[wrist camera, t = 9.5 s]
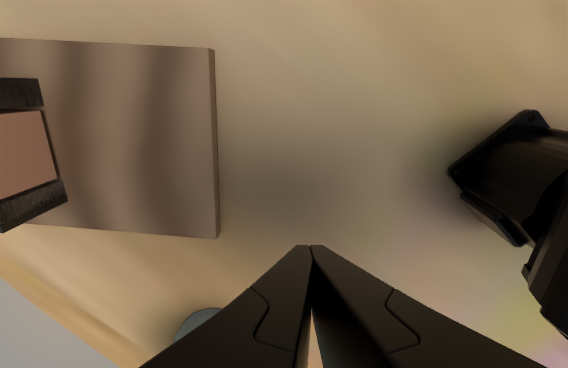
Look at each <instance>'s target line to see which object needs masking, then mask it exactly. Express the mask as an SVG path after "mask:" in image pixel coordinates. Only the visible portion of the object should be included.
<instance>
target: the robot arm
mask: <svg viewBox="0 0 568 368" xmlns="http://www.w3.org/2000/svg"><path fill="white" fill-rule="evenodd" d="M529 115H531V118H530V119H529V120H528V119H527V118H528V116H529ZM455 170H458V172H457V174H455V175H454V174H453V173H454V171H455ZM447 174H448V176H449V177H450V178H451V180H452V181H453V182H454V183H455V184H456V185H457V187H458V188H459V189H460V190H461V191H462V192H461V193H460V199H461V200H462V201H463V202H464V203H465V205H466V206H467V207H468V208H469V209H470V210H471V212H472V213H473V214H474V215H475V216H476V217H477V218H478V219H479V220H480V221H481V222H483V223H484V224H485V225H487V226H488V227H489V228H491V229H492V230H493V231H494V232H496V233H497V234H498V235H500V236H501V237H502V238H504V239H505V240H506V241H507V242H509V243H510V244H511V245H513V246H514V247H522V246H523V245H525V244H527V245H529V246H530V247H531V248H533V252H532V254H531V256H530V259H529V261H528V263H527V264H524V266H523V269H522V271H521V273H522V275H523V276H524V278H525V280H526V281H527V283H528V288H529V291H530V292H531V293H532V295H533V296H534V297H535V299H536V300H537V301H538V303H539V304H540V305H541V306H542V307H541V309H540V313H541V314H542V316H543V317H544V318H545V319H546V320H547V321H548V322H549V323H550V324H551V325H553V326H554V327H555V328H556V329H557V330H558V331H559V332H560V333H561V334H562V335H563V336H564V337H565V338H566V339H567V340H568V131H564V130H558V129H552V128H550V127H549V126H548V124H547V123H546V121H545V120H544V119H543V117H542V116H541V114H540V113H539V112H538V111H537V110H530V109H529V110H525V111H523V112H522V113H521V114H519V115H518V116H517V117H515V118H514V119H513V120H511V121H510V122H509V123H507V124H506V125H505V126H503V127H502V128H501V129H499V130H498V131H497V132H495V133H494V134H493V135H491V136H490V137H489V138H487V139H486V140H485V141H483V142H482V143H481V144H480V145H478V146H477V147H476V148H474V149H473V150H472V151H470V152H469V153H468V154H466V155H465V156H464V157H462V158H461V159H460V160H458V161H457V162H456V163H454V164H453V165H452V166H450V167H449V168H448V170H447ZM311 309H312V316H313V322H314V326H315V331H316V336H317V340H318V345H319V350H320V354H321V359H322V363H323V368H547V367H545V366H543V365H541V364H539V363H537V362H535V361H533V360H531V359H529V358H527V357H525V356H523V355H521V354H519V353H517V352H515V351H513V350H511V349H509V348H507V347H506V346H504V345H502V344H500V343H498V342H496V341H494V340H492V339H490V338H488V337H486V336H484V335H482V334H480V333H478V332H476V331H474V330H472V329H470V328H468V327H466V326H464V325H462V324H460V323H458V322H456V321H454V320H452V319H450V318H448V317H446V316H444V315H442V314H440V313H439V312H437V311H435V310H433V309H431V308H429V307H427V306H425V305H423V304H422V303H420V302H418V301H416V300H415V299H413V298H411V297H409V296H408V295H406V294H404V293H403V292H401V291H399V290H398V289H394V288H393V287H392V286H390V285H388V284H387V283H385V282H383V281H382V280H380V279H378V278H376V277H375V276H373V275H371V274H370V273H368V272H366V271H365V270H363V269H361V268H360V267H358V266H356V265H355V264H353V263H351V262H350V261H348V260H346V259H345V258H343V257H341V256H340V255H338V254H336V253H335V252H333V251H331V250H330V249H328V248H326V247H325V246H323V245H311V246H310V247H309V246H308V245H296V246H295V247H294V248H293V249H292V250H291V251H289V252H288V253H287V254H286V255H285V256H284V257H283V258H282V259H280V260H279V261H278V262H277V263H276V264H275V265H274V266H273V267H271V268H270V269H269V270H268V271H267V272H266V273H265V274H264V275H262V276H261V277H260V278H259V279H258V280H257V281H256V282H255V283H254V284H252V285H251V286H250V287H249V288H247V289H246V290H245V291H244V292H243V293H242V294H240V295H239V296H238V297H237V298H236V299H234V300H233V301H232V302H231V303H230V304H228V305H227V306H226V307H224V308H223V309H222V310H220V311H219V312H217V313H216V314H215V315H213V316H212V317H211V318H209V319H208V320H206V321H205V322H203V323H202V324H201V325H199V326H198V327H196V328H195V329H193V330H192V331H190V332H189V333H188V334H186V335H185V336H183V337H182V338H180V339H179V340H178V341H176V342H175V343H173V344H172V345H170V346H169V347H167V348H166V349H165V350H163V351H162V352H160V353H159V354H157V355H156V356H154V357H153V358H152V359H150V360H149V361H147V362H146V363H144V364H143V365H142V366H140V367H139V368H307V366H308V353H309V340H310V327H311Z"/></svg>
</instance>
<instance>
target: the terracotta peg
mask: <svg viewBox="0 0 568 368" xmlns="http://www.w3.org/2000/svg"><path fill="white" fill-rule="evenodd" d="M56 178H57V175H56V171H55V168H54V164H53V160H52V156H51V152H50V148H49V144H48V140H47V136H46V132H45V128H44V124H43V121H42V117H41V113H40V111H38V110H22V109H0V199H3V198H6V197H8V196H11V195H14V194H16V193H19V192H22V191H24V190H27V189H30V188H32V187H35V186H38V185H40V184H43V183H46V182H48V181H51V180H54V179H56Z"/></svg>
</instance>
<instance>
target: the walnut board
mask: <svg viewBox="0 0 568 368" xmlns="http://www.w3.org/2000/svg"><path fill="white" fill-rule="evenodd" d="M0 77H14V78H37V79H38V81H39V85H40V89H41V93H42V97H43V102H44V106H36V107H23V108H10V109H22V110H38V111H40V113H41V117H42V121H43V124H44V128H45V132H46V136H47V140H48V144H49V148H50V152H51V156H52V160H53V164H54V168H55V171H56V175H57V178H56V179H54V180H63V182H64V186H65V190H66V194H67V198H68V202H66V203H64V204H62V205H60V206H57V207H55V208H53V209H51V210H49V211H47V212H45V213H43V214H41V215H39V216H37V217H35V218H33V219H31V220H29V221H27V222H25V223H27V224H39V225H51V226H63V227H75V228H87V229H99V230H111V231H123V232H135V233H147V234H159V235H171V236H183V237H195V238H207V239H217V237H218V235H219V233H220V205H219V176H218V147H217V118H216V89H215V60H214V50H212V49H209V48H194V47H174V46H154V45H134V44H114V43H93V42H73V41H53V40H33V39H13V38H0Z"/></svg>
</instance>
